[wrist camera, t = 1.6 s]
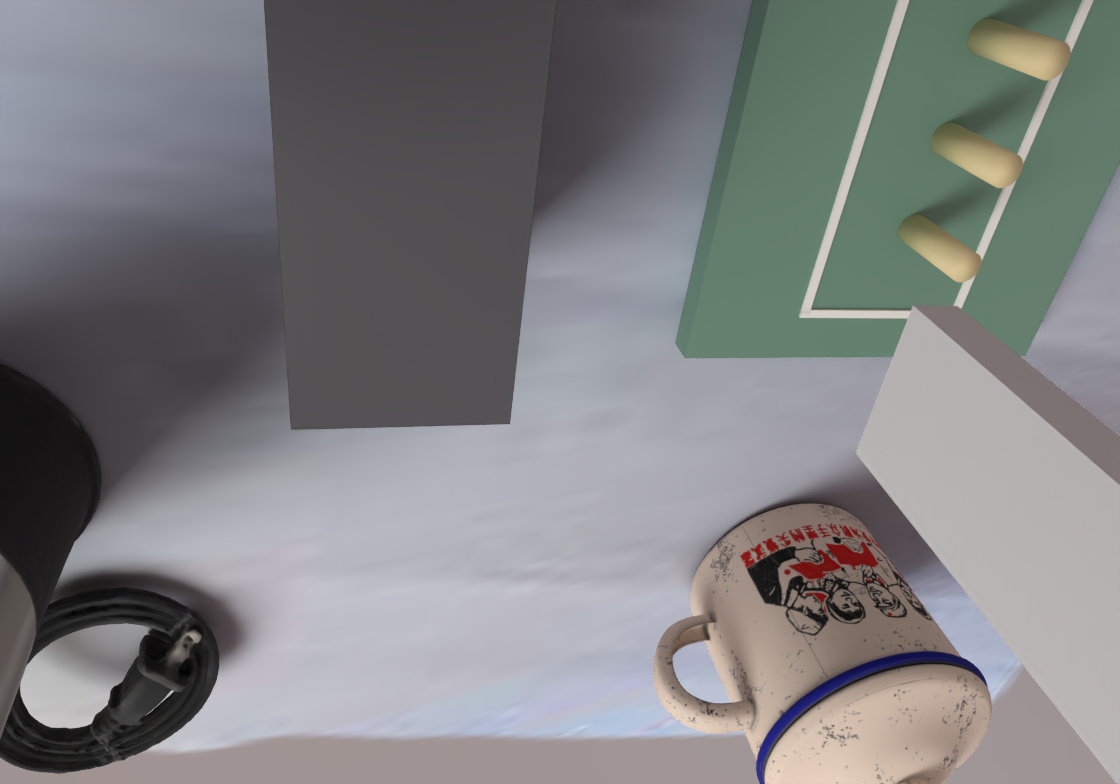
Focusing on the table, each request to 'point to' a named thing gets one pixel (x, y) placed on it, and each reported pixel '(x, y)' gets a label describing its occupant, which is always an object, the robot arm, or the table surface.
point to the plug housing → (405, 203)
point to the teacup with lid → (824, 657)
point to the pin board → (902, 171)
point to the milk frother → (78, 598)
